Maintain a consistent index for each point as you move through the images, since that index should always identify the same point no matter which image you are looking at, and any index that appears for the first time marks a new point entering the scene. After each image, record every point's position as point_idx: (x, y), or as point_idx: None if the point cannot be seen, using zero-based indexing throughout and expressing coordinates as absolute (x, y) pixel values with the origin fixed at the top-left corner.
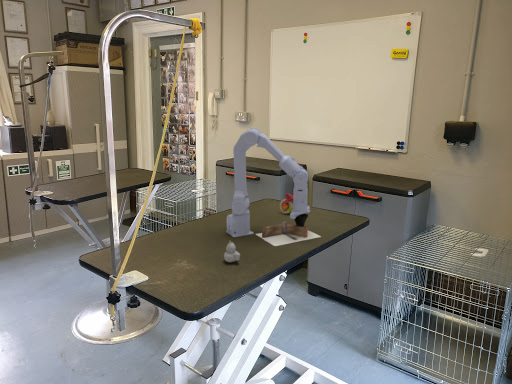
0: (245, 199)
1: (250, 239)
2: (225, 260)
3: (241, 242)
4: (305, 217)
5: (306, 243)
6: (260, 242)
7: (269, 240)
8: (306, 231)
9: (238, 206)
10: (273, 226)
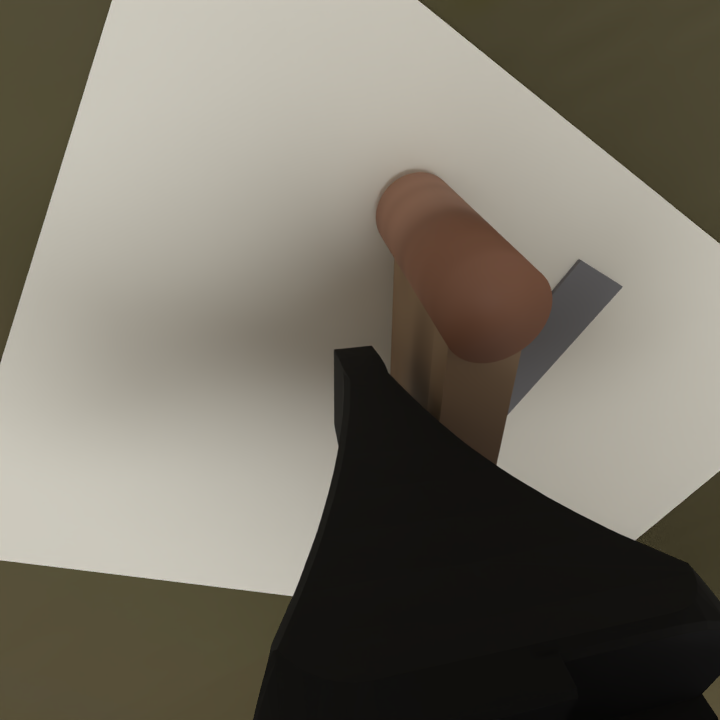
0: None
1: None
2: None
3: (715, 576)
4: (584, 607)
5: (690, 32)
6: (704, 503)
7: (677, 480)
8: (489, 227)
9: None
10: None
